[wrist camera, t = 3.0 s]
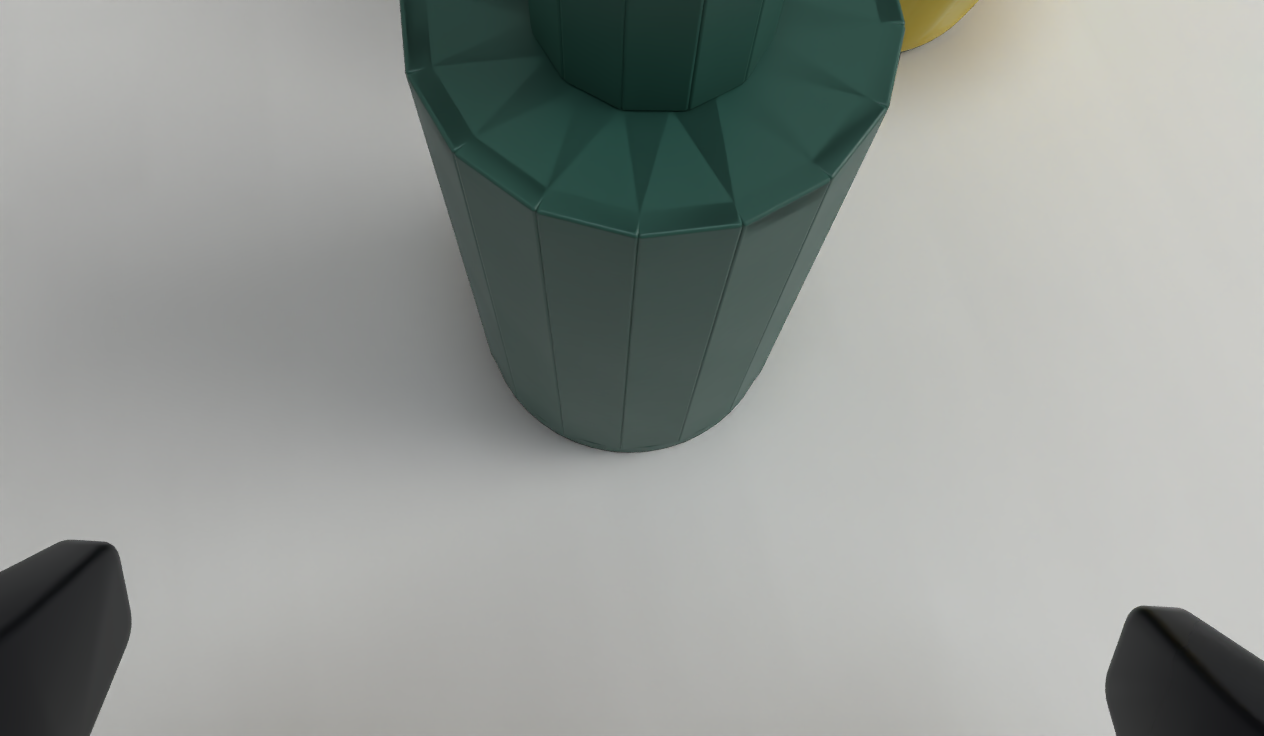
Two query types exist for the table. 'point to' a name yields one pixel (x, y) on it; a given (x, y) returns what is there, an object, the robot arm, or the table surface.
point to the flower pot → (930, 19)
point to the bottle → (643, 187)
